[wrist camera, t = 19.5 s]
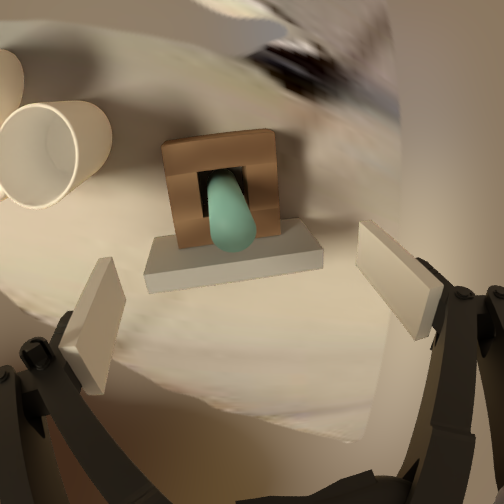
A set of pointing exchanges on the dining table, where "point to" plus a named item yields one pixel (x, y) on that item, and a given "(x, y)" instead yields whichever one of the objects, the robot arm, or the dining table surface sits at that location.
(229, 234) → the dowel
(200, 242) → the block
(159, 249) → the wall
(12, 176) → the cup
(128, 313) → the dining table surface
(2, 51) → the mug
